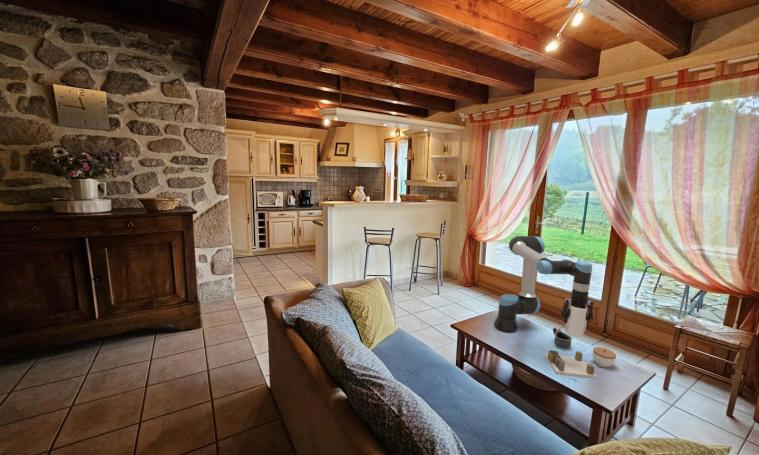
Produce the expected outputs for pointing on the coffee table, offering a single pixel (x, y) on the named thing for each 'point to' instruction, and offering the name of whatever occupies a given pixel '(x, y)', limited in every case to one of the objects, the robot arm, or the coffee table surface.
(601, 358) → the lidded jar
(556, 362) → the brown rectangular block
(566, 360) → the seat board
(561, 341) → the teapot
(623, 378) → the coffee table surface
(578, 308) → the cup
